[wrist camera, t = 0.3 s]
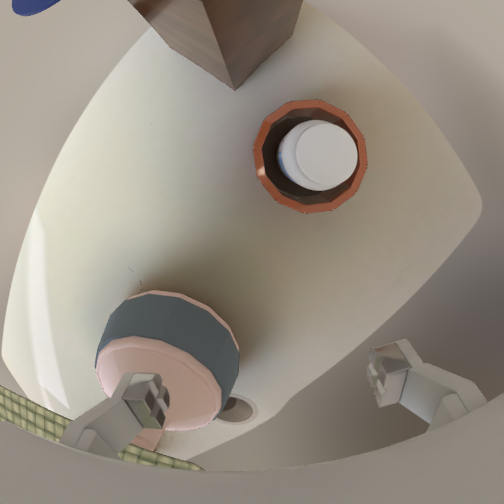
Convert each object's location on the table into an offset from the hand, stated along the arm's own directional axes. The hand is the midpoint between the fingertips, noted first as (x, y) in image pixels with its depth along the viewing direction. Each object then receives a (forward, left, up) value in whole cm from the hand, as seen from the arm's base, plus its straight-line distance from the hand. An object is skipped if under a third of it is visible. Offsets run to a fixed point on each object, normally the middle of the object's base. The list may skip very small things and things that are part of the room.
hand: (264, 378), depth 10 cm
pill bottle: (-7, +6, -24) cm, 25 cm away
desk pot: (-7, +6, -23) cm, 25 cm away
